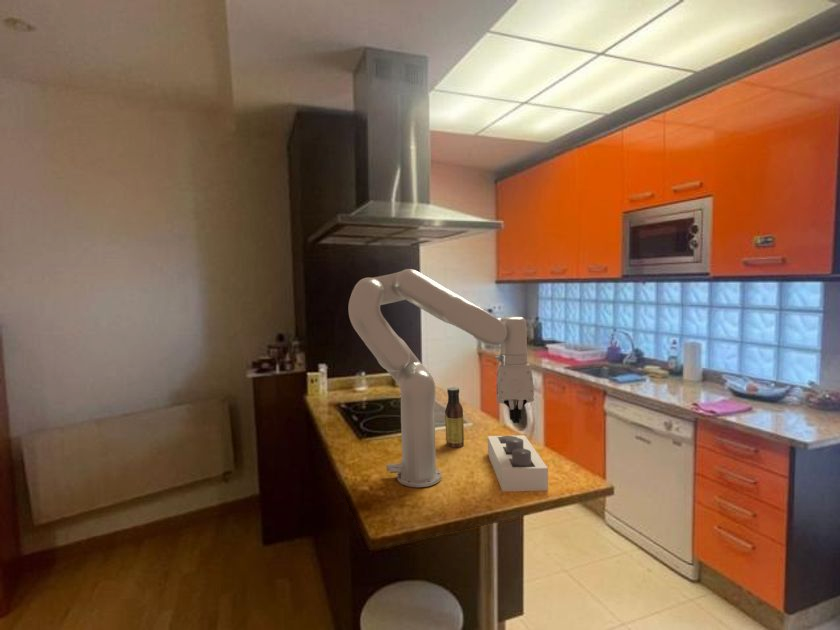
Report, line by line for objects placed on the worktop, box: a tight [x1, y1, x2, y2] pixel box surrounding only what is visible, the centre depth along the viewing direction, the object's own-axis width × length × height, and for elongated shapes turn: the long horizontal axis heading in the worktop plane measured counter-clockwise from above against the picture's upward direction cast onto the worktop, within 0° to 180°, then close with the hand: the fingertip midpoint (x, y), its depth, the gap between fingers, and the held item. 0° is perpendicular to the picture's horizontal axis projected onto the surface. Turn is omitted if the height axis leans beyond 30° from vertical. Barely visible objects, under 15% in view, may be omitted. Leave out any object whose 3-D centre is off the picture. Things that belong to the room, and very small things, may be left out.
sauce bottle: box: [444, 387, 465, 448], centre depth 149 cm, size 7×6×20 cm
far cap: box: [501, 435, 516, 444], centre depth 136 cm, size 5×5×6 cm
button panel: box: [487, 434, 549, 492], centre depth 127 cm, size 12×26×6 cm, turn 179°
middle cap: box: [506, 438, 523, 455], centre depth 127 cm, size 5×5×6 cm
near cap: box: [512, 448, 531, 467], centre depth 118 cm, size 5×5×6 cm
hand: (515, 421), depth 127 cm, fingers closed
